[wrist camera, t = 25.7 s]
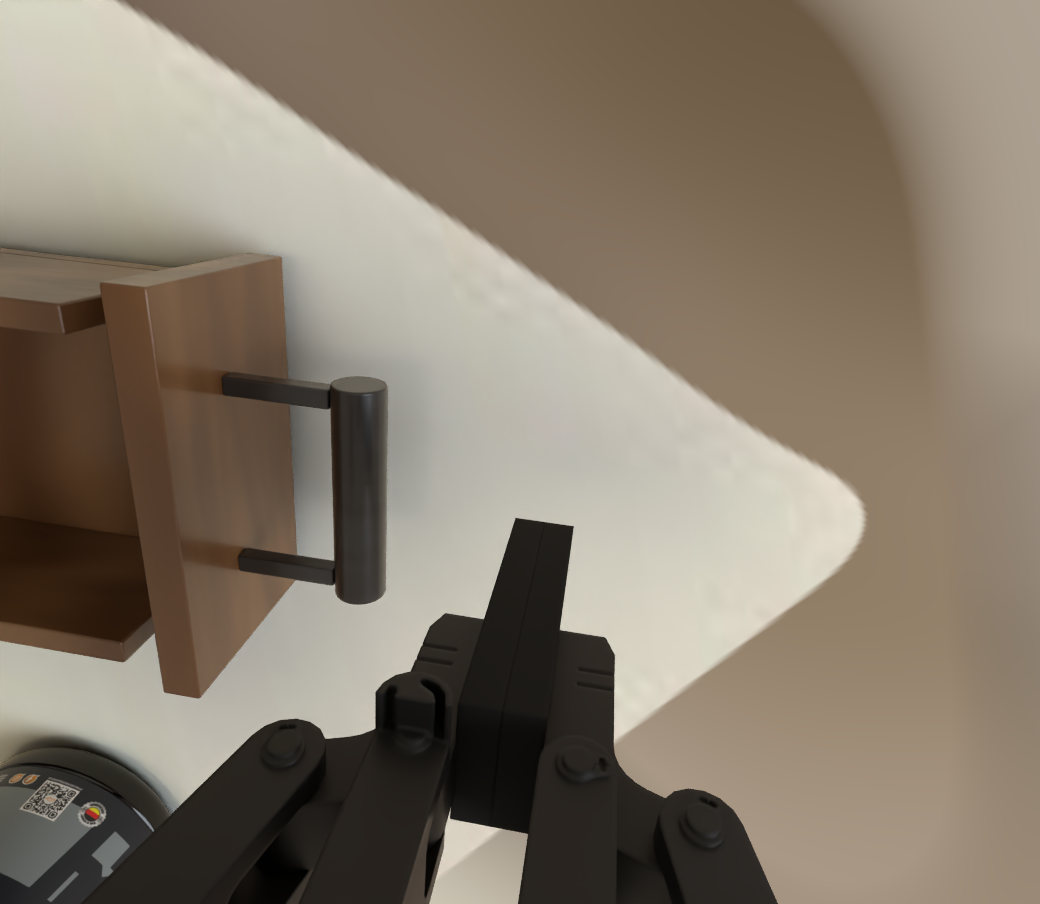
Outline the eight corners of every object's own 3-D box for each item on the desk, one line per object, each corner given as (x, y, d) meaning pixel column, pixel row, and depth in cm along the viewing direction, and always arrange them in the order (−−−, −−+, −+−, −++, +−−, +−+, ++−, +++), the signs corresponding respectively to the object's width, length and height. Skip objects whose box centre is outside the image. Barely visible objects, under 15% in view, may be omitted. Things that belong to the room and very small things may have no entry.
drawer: (425, 272, 21) (345, 310, 15) (415, 595, 26) (351, 726, 20) (-169, 206, 23) (-461, 215, 17) (-75, 518, 28) (-275, 615, 22)
